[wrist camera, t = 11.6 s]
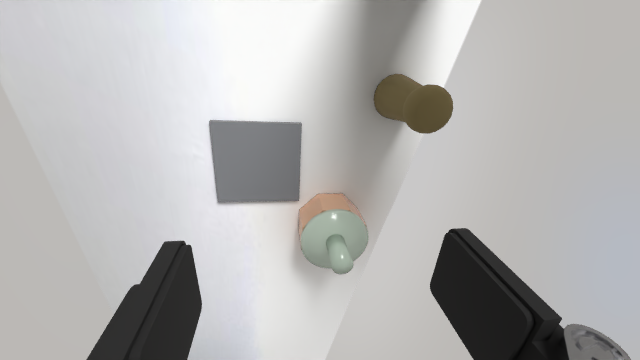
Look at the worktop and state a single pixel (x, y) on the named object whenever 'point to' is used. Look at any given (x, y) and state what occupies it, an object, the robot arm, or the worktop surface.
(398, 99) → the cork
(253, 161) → the mat
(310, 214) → the bowl
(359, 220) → the lid
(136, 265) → the worktop surface
